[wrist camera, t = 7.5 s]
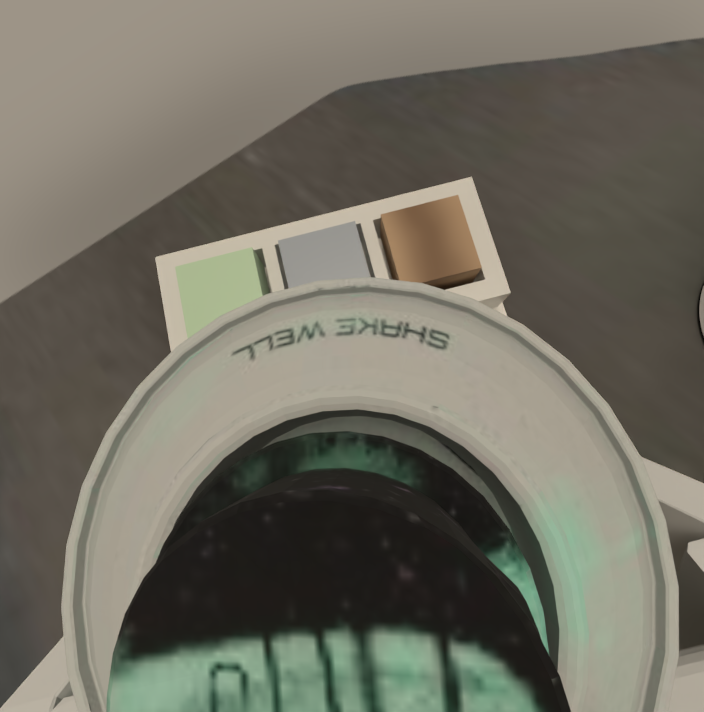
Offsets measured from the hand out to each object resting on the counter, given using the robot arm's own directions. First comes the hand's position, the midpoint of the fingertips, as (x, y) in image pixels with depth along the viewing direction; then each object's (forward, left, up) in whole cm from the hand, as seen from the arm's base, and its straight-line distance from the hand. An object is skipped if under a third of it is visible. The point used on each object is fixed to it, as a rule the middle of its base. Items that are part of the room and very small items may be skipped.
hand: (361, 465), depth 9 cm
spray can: (0, +1, -12) cm, 12 cm away
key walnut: (-8, -13, -24) cm, 29 cm away
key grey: (0, -13, -24) cm, 28 cm away
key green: (+8, -13, -24) cm, 29 cm away
